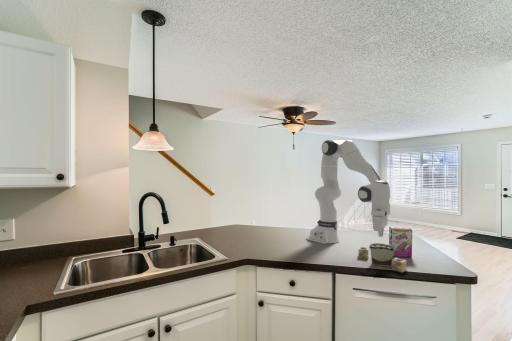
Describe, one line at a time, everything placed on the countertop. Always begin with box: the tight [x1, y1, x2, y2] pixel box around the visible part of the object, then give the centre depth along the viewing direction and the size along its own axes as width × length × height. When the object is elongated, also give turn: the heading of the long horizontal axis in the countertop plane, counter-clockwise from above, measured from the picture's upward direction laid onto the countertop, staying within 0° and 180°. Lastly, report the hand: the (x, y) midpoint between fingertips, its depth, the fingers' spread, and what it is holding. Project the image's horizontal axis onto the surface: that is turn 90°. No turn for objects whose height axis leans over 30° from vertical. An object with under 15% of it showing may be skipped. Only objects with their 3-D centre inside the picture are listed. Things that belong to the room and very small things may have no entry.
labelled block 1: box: [357, 246, 369, 260], centre depth 144 cm, size 5×5×5 cm
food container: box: [368, 243, 395, 268], centre depth 134 cm, size 12×6×10 cm, turn 71°
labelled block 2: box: [391, 257, 408, 273], centre depth 126 cm, size 5×5×5 cm
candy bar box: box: [388, 226, 413, 259], centre depth 145 cm, size 11×5×16 cm, turn 77°
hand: (380, 236), depth 134 cm, fingers closed
